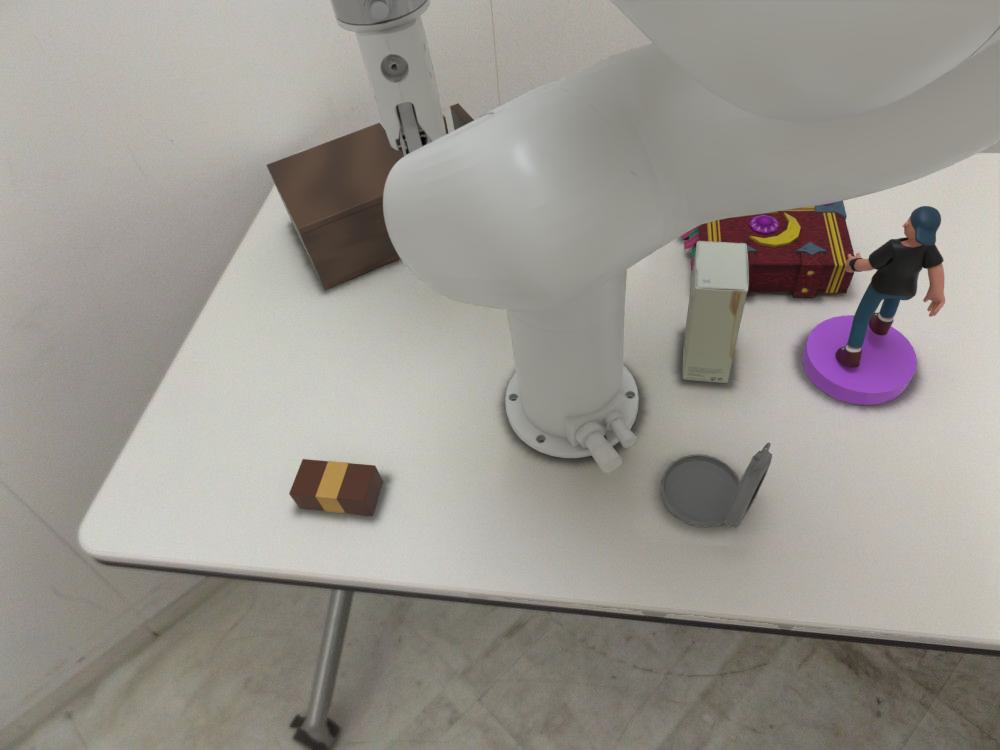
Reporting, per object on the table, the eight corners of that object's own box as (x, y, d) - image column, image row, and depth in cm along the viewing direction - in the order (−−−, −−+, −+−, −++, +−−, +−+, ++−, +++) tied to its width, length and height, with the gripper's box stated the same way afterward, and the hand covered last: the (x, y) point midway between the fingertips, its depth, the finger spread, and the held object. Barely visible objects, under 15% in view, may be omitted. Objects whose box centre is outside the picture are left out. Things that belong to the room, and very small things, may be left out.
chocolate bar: (312, 474, 64) (302, 458, 62) (383, 480, 63) (375, 464, 61) (299, 509, 62) (288, 494, 60) (372, 516, 61) (363, 501, 59)
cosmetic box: (728, 385, 65) (749, 293, 56) (681, 381, 66) (694, 290, 56) (728, 334, 69) (748, 240, 59) (684, 331, 70) (696, 238, 60)
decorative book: (847, 298, 70) (861, 262, 66) (683, 296, 73) (688, 261, 69) (830, 225, 77) (842, 188, 73) (681, 226, 80) (685, 190, 76)
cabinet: (397, 183, 91) (379, 122, 84) (438, 242, 83) (422, 179, 76) (293, 224, 88) (266, 164, 81) (324, 290, 80) (297, 229, 73)
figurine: (899, 330, 67) (978, 173, 53) (919, 408, 61) (1013, 256, 47) (797, 326, 68) (847, 173, 54) (807, 401, 63) (866, 253, 49)
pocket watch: (656, 461, 61) (664, 394, 53) (754, 458, 60) (777, 389, 52) (667, 548, 56) (678, 488, 48) (774, 546, 55) (803, 485, 47)
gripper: (435, 20, 48) (477, 229, 62) (418, -53, 58) (458, 142, 71) (330, 43, 48) (396, 247, 62) (331, -34, 58) (388, 157, 72)
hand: (429, 190), depth 67 cm, fingers closed
